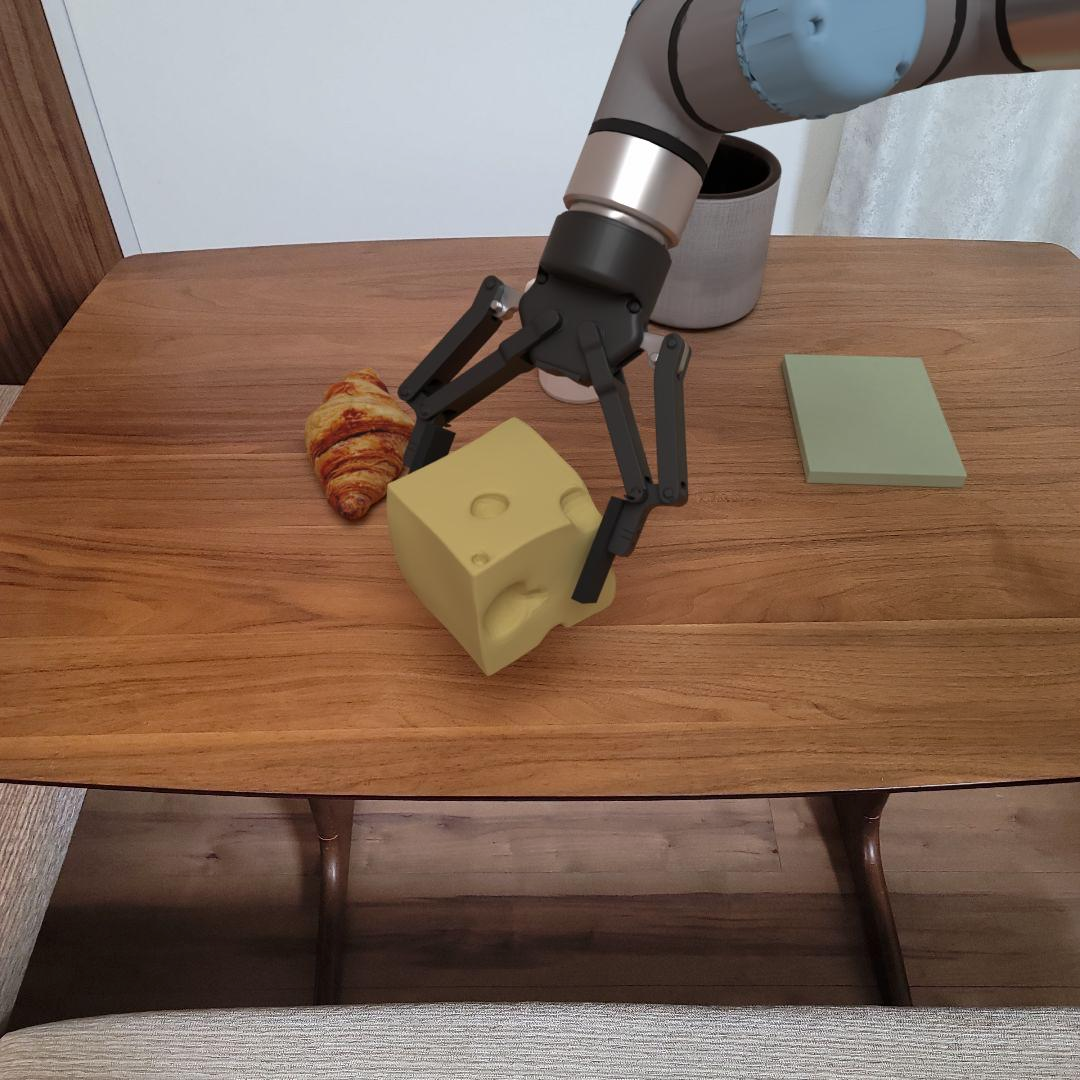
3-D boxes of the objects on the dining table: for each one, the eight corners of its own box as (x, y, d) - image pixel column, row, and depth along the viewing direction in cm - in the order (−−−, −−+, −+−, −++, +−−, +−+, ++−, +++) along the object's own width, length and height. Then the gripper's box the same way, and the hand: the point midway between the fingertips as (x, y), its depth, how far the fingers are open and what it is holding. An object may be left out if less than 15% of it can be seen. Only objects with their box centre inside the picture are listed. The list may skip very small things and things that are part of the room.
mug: (638, 374, 96) (646, 286, 88) (590, 419, 91) (593, 329, 83) (551, 338, 100) (552, 251, 93) (501, 379, 95) (497, 291, 88)
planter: (634, 342, 100) (645, 204, 88) (604, 265, 111) (611, 134, 99) (777, 328, 101) (806, 192, 90) (734, 254, 112) (755, 124, 101)
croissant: (345, 414, 97) (295, 359, 92) (426, 372, 94) (380, 313, 89) (331, 561, 82) (271, 505, 77) (427, 516, 79) (371, 455, 74)
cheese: (617, 605, 61) (619, 495, 54) (482, 688, 57) (465, 581, 50) (525, 519, 67) (517, 410, 60) (397, 589, 63) (372, 480, 56)
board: (962, 488, 84) (967, 475, 83) (806, 483, 84) (809, 471, 83) (916, 369, 96) (921, 357, 95) (781, 365, 97) (783, 353, 96)
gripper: (819, 305, 55) (684, 636, 57) (475, 207, 64) (369, 496, 66) (806, 264, 48) (653, 643, 50) (421, 160, 57) (305, 485, 59)
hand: (491, 560), depth 58 cm, fingers closed on cheese, 12 cm apart
